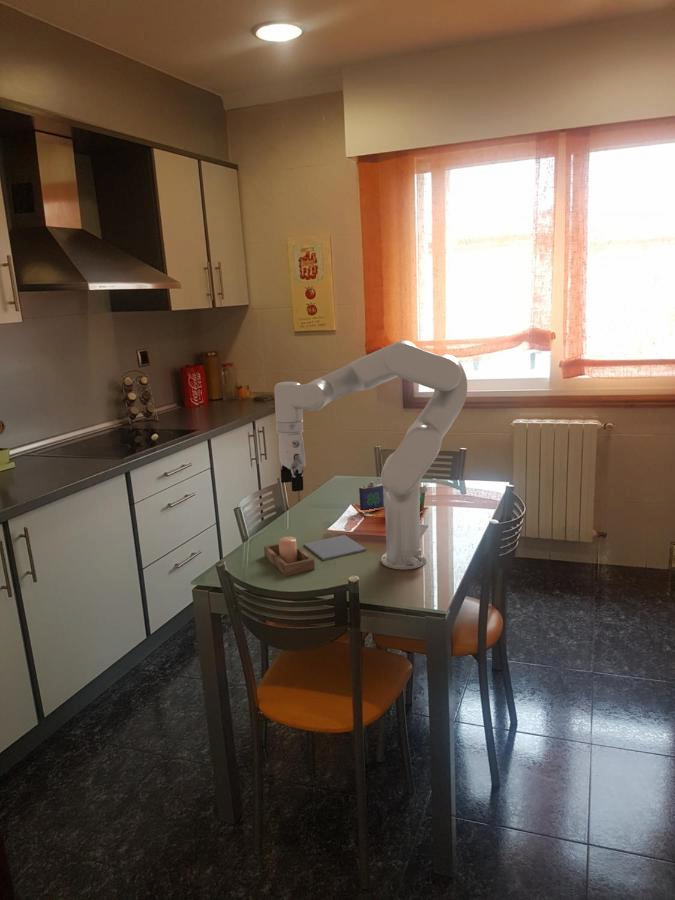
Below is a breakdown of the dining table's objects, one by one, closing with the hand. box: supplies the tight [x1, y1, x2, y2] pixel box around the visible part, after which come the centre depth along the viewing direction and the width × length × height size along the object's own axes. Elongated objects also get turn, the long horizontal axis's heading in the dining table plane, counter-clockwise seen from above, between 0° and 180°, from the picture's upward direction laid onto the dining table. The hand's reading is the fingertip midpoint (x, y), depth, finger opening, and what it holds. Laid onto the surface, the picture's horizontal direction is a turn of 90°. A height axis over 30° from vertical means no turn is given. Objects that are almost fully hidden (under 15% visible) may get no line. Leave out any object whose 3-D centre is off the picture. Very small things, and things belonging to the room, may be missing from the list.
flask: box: [358, 480, 385, 510], centre depth 230 cm, size 9×3×11 cm, turn 114°
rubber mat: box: [303, 534, 367, 561], centre depth 198 cm, size 14×14×1 cm
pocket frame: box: [263, 542, 315, 577], centre depth 188 cm, size 17×9×3 cm, turn 26°
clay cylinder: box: [278, 536, 299, 564], centre depth 188 cm, size 5×5×7 cm
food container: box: [420, 484, 428, 512], centre depth 224 cm, size 12×6×10 cm, turn 76°
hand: (292, 486), depth 186 cm, fingers open, 9 cm apart
